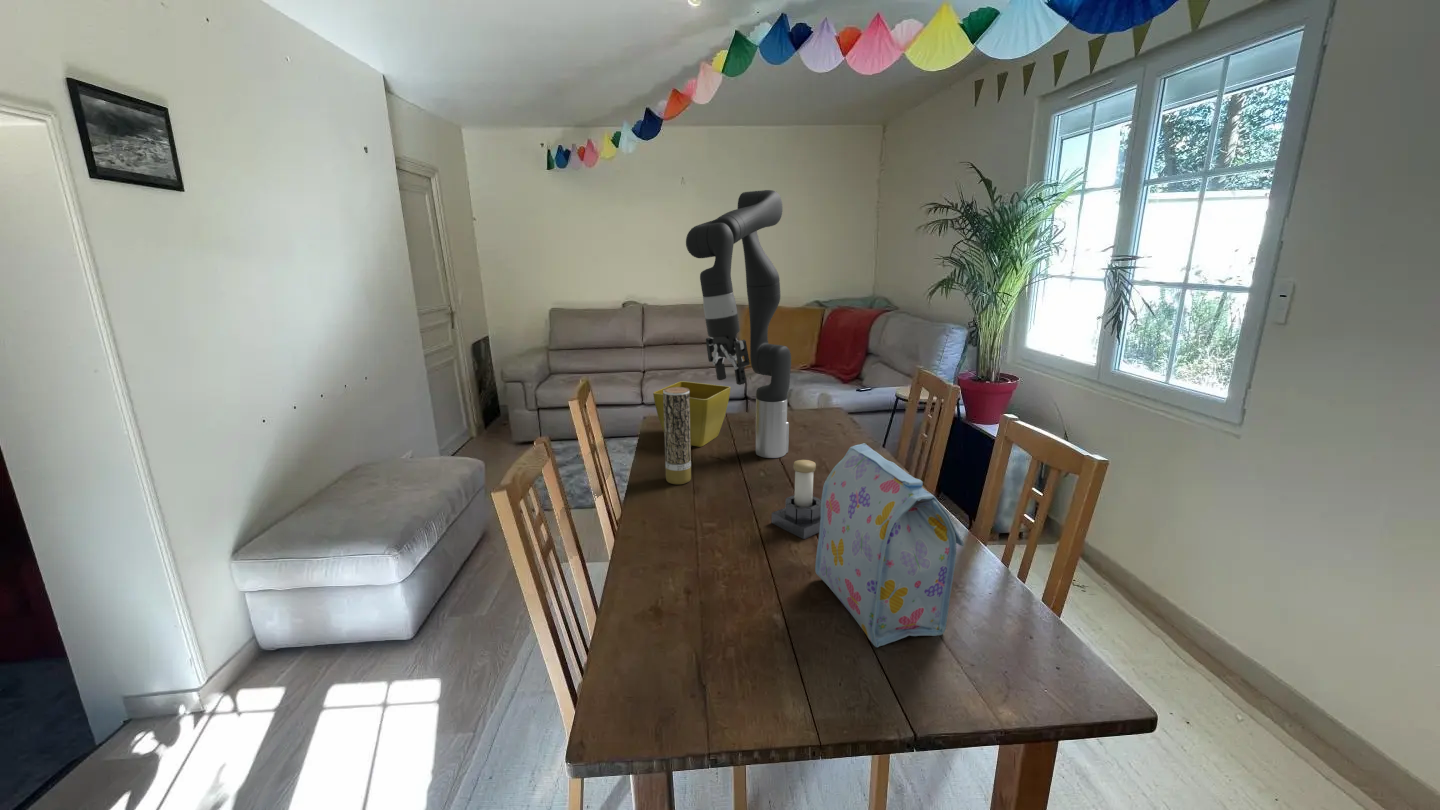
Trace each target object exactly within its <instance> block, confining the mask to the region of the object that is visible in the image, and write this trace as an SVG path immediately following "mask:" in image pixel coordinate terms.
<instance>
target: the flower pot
mask: <svg viewBox="0 0 1440 810" xmlns="http://www.w3.org/2000/svg"><path fill="white" fill-rule="evenodd" d="M672 387H683V388H688V389H689V392H690V443H691V447H692V446H693V447H703V446H705V445H706V444H708V443H710V442H711V441H713V440H714V439H716V438H717V437H718V436H719V434H720V431H721V428H722V427H723V422H724V420H725V417H726V413H727V409H728V405H729V401H730V394H731V390H732V388H731V386H728V385H727V386H726V385H720V384H719V385H718V384H712V383H702V382H693V381H685V380H684V381H683V380H682V381H677V382H676V383H672V384H670V385H667V386H666V387H663V388H661V389H658V390H656V391H653V400H654V405H655V409H656V413H657V416H658V420H659V421H658V422H659V423H660V426H661V429H662V431H663V433H664V405H663V390H664V389H666V388H672Z"/></svg>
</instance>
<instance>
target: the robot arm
mask: <svg viewBox="0 0 1440 810" xmlns="http://www.w3.org/2000/svg"><path fill="white" fill-rule="evenodd" d="M782 216H783V201H782V197H781V195H780V194H779V193H778V192H777V191H775V190H771V189H762V190H752V191H751V190H750V191H744V192H741V193H740V195H739V197H738V199H737V209H734V210H733V209H732V210H730V211H728V212H726V213H724V214H721V215H720V216H719V217H717V218H715V219H713V220H710V221H706V222H703V223H701V224H697V225H695V226H693V227H692V228H691V229H689V231H688V233H687V235H686V238H685V246H686V249H687V251H688V253H689V254H690V255H691V256H692V257H694V258H696V259H708V258H715V259H714V264H713V266H712V267H708V268H706V269H703V270H702V271H701V272H700V273H699V281H700V288H701V294H702V300H703V301H702V303H703V304H702V305H703V313H704V318H705V320H704V321H705V324H706V331H707V336H708V337H707V338H706V339H705V344H706V351H707V358H708V359H707V360H708V362H709V363H712V365H713V366H715V367H714V368H715V374H716V379H717V380H718V381H723V380H726V379H727V374H726V367H725V364H724V361H725V359H727V361H728V362H729V363H731V364H732V366H733V369H734V375H735V383H736V384H737V385H739V386H741V385H744V384H746V382H747V378H746V372H745V368H746V367H748V366H751V368H752V371H753V372H754V373H756V374H757V375H760V376H761V375H763V376H768V377H771V379H770V382H769V384H767V385H762V386H760V387H758V388H757V389H756V393H755V454H756V455H757V456H759V457H761V458H767V459H777V458H782V457H784V456H786V454H787V453H789V442H790V441H789V440H790V434H789V433H790V423H789V422H788V419H787V418H788V393H789V389H790V385H791V384H790V380H791V370H792V354H791V351H790V349H789V348H788V346H785V345H782V344H772V343H769V339H768V337H769V336H768V331H769V326H770V322H771V320H772V318H773V317H774V314H775V313H776V311H777V309H778V307H779V304H780V302H781V283H780V274H779V272H778V270H777V268H776V266H775V265H774V263H773V262H772V261H771V259H770V258H769V256H768V255H767V254H766V252H765V251H764V249H763V247H762V245H761V241H760V240H759V235H758V231H760V230H761V229H764V228H769V227H773V226H776V225H777V224H778V223H779V222H780V221H781V218H782ZM740 240H741V242H742V248H743V256H744V266H745V280H746V281H745V284H746V294H747V303H748V304H747V305H748V312H749V313H748V314H749V315H748V316H749V326H750V327H749V330H750V333H749V335H750V337H749V339H750V340H749V342H750V343H749V344H750V345H749V346H750V347H749V348H750V349H749V352H748V346H747V341H746V339H740V340H738V338H737V334H738V333H740V330H741V329H740V328H741V327H740V321H739V314H738V308H737V301H736V298H735V295H734V287H733V283H732V276H731V275H732V274H731V272H732V263H733V262H732V261H733V251H734V245H735V244H736V243H737V242H740ZM749 355H750V357H749Z"/></svg>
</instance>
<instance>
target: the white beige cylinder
mask: <svg viewBox="0 0 1440 810" xmlns="http://www.w3.org/2000/svg"><path fill="white" fill-rule="evenodd" d="M816 466H817V465H816V462H814V461H812V460H809V459H798V460H795V461H793V470H794V495H795V496H794V505H795V506H797V507H812V499H813V496H814V494H813V493H814V473H815V471H816V468H817V467H816Z"/></svg>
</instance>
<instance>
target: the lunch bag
mask: <svg viewBox="0 0 1440 810" xmlns="http://www.w3.org/2000/svg"><path fill="white" fill-rule="evenodd" d="M923 484H924V482H923V481H922V480H921V479H919V478H917V477H916V478H915V477H914V476H913V475H911V474H909V473H908V472H907V471H905V470H904V469H903V468H901V467H900V466H898V465H897V464H896V463H895V462H893V461H890V460H888V459H886V458H884V457H883V456H882V455H881V454H880V453H878V452H877V451H876V450H874V449H873V448H871V447H870V445H867V443H864V442H863V443H861V444H855V445H852V446H850V447H849V448H848V450H847V452H846V453H845V455H844V457H843V458H842V459H841V460H840V461H839V462H837V463H836V465H835V466H833V468H832V470H831V471H830V473H829V474H828V476H827V478H826V479H825V481H824V483H823V487H822V492H821V493H822V494H821V520H820V531H819V533H818V542H817V546H816V547H817V548H816V553H815V554H816V556H815V568H814V570H815V573H816V575H817V576H818V577H819V578H820V579H821V580H822V582H824V583H825V584H826V586H827V587H829V589H830V590H831V592H833V594H834V595H835V597H836V598H837V599H838V600H839V601H840V602H841V604H842V605H843V606H844V607H845V608H846V610H847V611H848V612H849V613H850V615H851V616H852V617H853V619H854V620H855V621H856V622H857V624H858V625H859V627H860V629H862V631H863V632H864V634H865V636H866V637H867V638H868V640H869V641H870V642H871V644H872V645H873V646H874V647H875V648H879V647H881V646H885V645H888V644H891V643H894V642H896V641H899V640H901V639H902V640H903V639H904V638H907V637H909V636H911V637H918V636H919V637H920V636H924V637H925V636H926V637H927V636H928V637H930V636H932V637H937V636H942V635H944V634H945V632H946V629H947V623H948V617H949V609H950V603H951V602H950V601H951V594H952V586H953V581H954V574H955V569H956V568H955V567H956V559H957V550H958V549H957V545H959V546H961V547H964V546H965V544H964V542H963V539H962V538H961V536H960V534H959V532H958V531H957V529H956V527H955V525H954V523H953V520H952V519H951V517H950V515H949V513H948V512H947V511H946V509H945V508H944V506H942V504H941V503H940V501H939V500H938V499H937V497H936V496H935V495H933V494H932V493H931V492H930V491H927V490H926V488H925V489H924V487H923Z"/></svg>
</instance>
